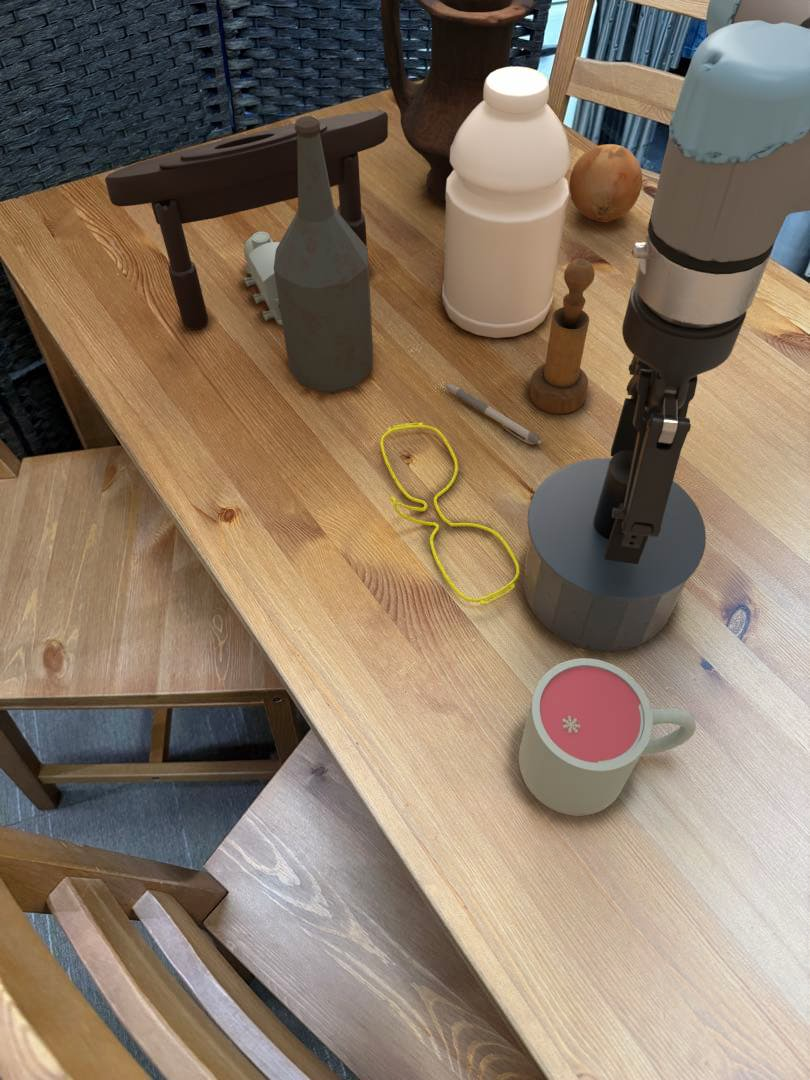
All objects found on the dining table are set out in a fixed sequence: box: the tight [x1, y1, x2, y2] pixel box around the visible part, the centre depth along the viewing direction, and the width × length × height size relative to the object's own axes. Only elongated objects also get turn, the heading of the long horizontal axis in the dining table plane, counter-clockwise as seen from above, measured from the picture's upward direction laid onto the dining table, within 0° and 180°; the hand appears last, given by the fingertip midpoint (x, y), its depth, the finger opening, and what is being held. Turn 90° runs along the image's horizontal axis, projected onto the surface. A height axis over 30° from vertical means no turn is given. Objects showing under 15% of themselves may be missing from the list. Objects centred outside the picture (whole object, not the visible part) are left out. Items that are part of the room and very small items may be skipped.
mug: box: [518, 657, 697, 817], centre depth 69 cm, size 14×9×10 cm
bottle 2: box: [441, 66, 572, 339], centre depth 98 cm, size 14×14×28 cm
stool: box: [104, 109, 389, 330], centre depth 103 cm, size 16×21×33 cm
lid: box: [526, 450, 707, 602], centre depth 73 cm, size 16×16×9 cm
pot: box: [522, 538, 687, 652], centre depth 80 cm, size 15×15×10 cm
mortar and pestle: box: [529, 258, 596, 415], centre depth 92 cm, size 7×6×18 cm
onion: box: [568, 143, 643, 223], centre depth 117 cm, size 10×10×10 cm
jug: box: [380, 0, 539, 206], centre depth 113 cm, size 21×18×30 cm
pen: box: [444, 383, 543, 446], centre depth 97 cm, size 1×14×1 cm, turn 48°
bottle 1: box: [274, 115, 374, 395], centre depth 91 cm, size 10×10×30 cm
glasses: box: [379, 422, 521, 606], centre depth 87 cm, size 25×10×5 cm, turn 22°
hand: (623, 504), depth 74 cm, fingers open, 11 cm apart
